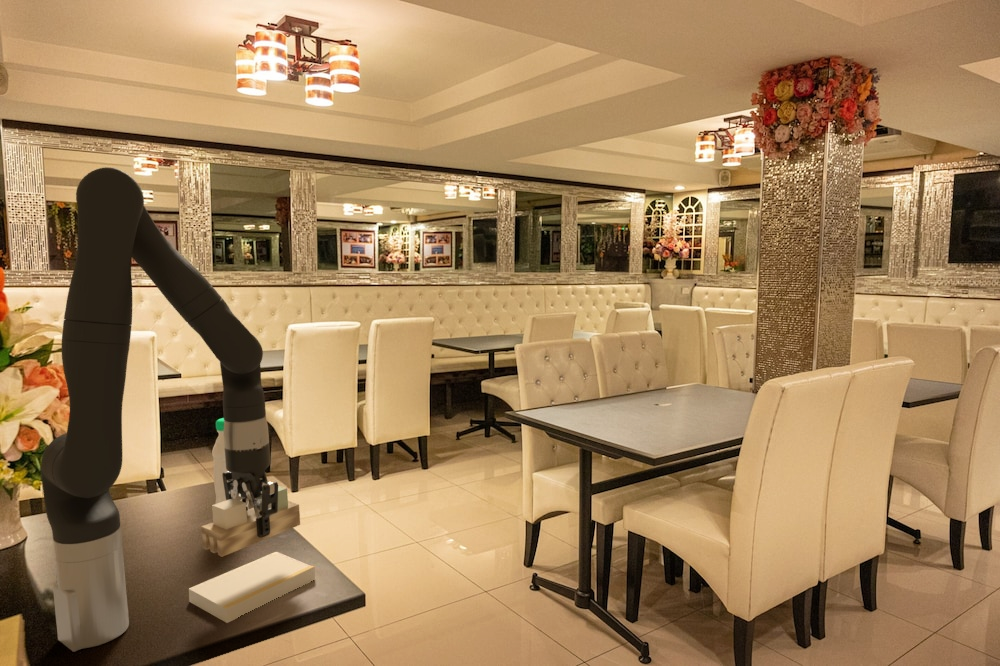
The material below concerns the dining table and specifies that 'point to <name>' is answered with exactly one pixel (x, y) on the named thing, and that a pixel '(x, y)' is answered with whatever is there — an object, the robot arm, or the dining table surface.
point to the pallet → (248, 530)
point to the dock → (250, 586)
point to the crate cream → (229, 513)
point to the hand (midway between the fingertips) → (253, 531)
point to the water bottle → (220, 463)
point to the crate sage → (279, 498)
